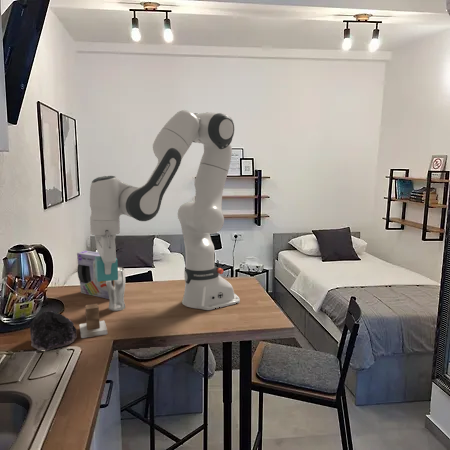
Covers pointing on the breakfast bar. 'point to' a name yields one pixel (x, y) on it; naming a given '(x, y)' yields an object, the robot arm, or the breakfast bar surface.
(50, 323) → the dark grey rock
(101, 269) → the turquoise cube
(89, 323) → the square base with post
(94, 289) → the cake pan box
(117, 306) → the beer glass
